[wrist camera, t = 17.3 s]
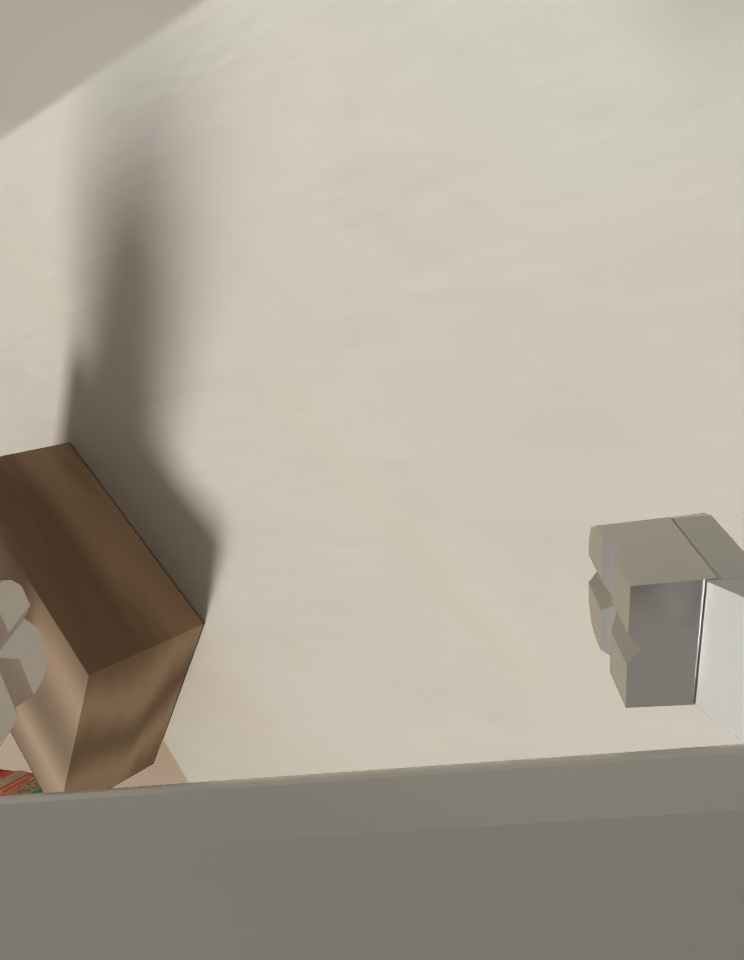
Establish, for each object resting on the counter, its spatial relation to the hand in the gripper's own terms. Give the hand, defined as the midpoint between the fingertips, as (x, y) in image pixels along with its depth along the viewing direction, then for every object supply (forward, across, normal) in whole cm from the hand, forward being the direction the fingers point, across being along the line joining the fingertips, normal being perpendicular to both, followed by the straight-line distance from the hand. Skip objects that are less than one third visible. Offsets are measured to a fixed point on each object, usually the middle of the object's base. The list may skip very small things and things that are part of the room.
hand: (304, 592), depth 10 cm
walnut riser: (+20, -14, -13) cm, 28 cm away
